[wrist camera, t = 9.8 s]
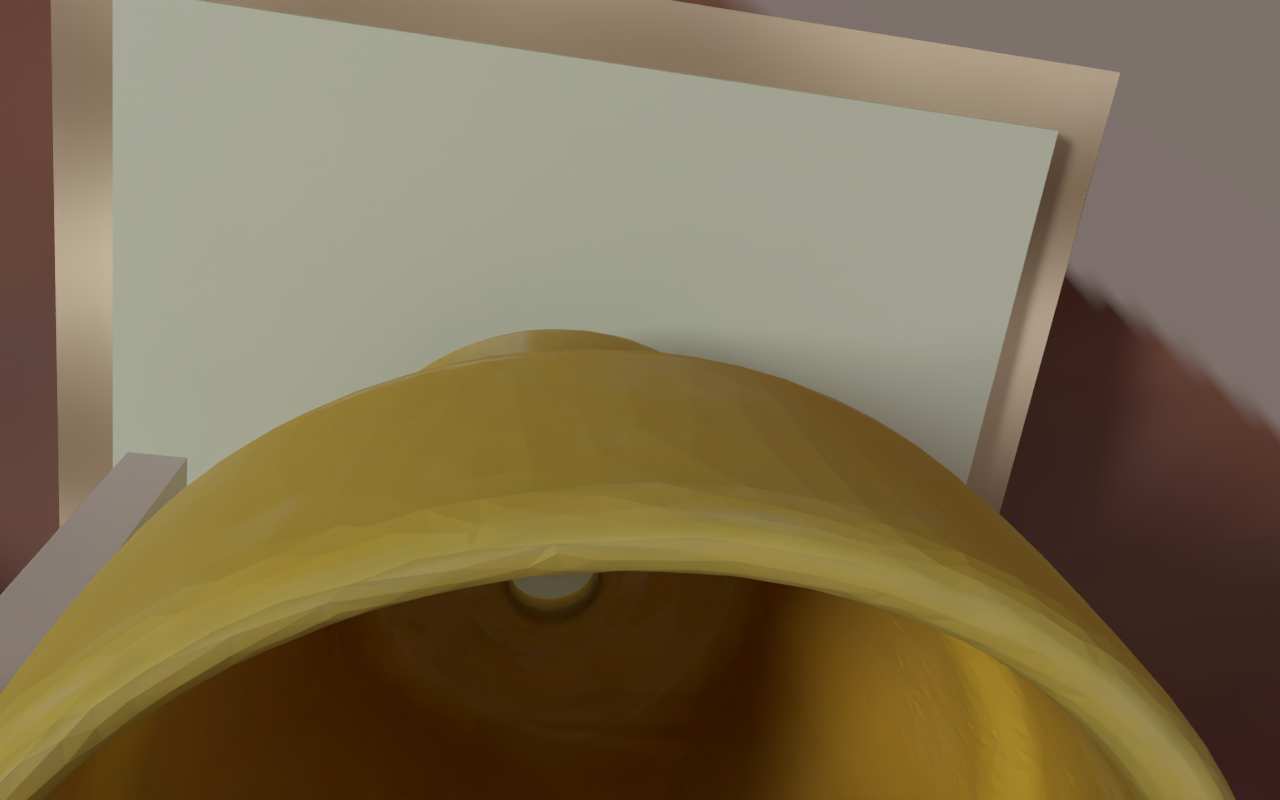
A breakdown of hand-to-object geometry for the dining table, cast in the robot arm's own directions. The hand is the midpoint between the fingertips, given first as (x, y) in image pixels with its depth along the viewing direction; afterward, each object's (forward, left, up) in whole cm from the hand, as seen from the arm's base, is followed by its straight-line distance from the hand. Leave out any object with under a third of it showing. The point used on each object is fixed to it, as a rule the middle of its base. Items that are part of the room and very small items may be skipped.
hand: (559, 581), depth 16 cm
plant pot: (0, 0, -1) cm, 1 cm away
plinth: (0, 0, -7) cm, 7 cm away
